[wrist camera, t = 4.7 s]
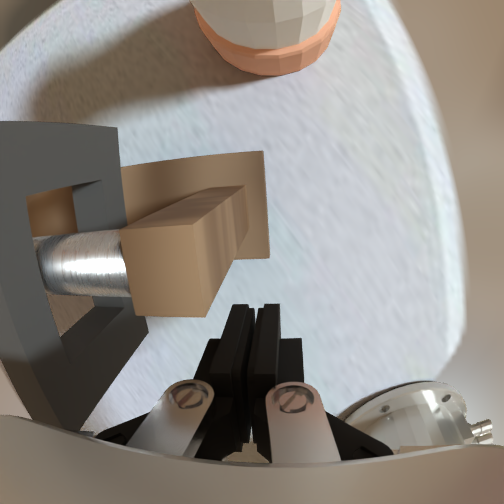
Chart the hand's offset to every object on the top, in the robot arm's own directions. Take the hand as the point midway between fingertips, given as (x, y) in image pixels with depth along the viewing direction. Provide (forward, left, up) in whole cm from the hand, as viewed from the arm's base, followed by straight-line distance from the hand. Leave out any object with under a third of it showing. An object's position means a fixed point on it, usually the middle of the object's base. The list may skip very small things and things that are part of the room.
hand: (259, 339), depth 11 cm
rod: (+12, -4, +1) cm, 13 cm away
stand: (+12, -4, -8) cm, 15 cm away
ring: (+6, -4, -2) cm, 7 cm away
